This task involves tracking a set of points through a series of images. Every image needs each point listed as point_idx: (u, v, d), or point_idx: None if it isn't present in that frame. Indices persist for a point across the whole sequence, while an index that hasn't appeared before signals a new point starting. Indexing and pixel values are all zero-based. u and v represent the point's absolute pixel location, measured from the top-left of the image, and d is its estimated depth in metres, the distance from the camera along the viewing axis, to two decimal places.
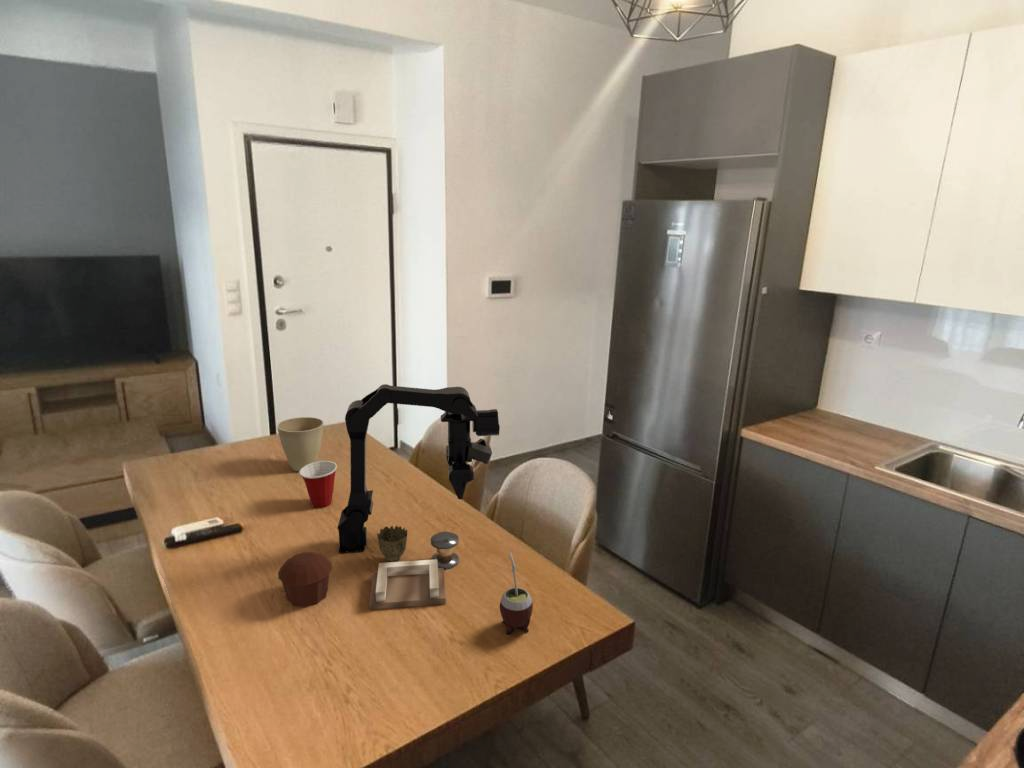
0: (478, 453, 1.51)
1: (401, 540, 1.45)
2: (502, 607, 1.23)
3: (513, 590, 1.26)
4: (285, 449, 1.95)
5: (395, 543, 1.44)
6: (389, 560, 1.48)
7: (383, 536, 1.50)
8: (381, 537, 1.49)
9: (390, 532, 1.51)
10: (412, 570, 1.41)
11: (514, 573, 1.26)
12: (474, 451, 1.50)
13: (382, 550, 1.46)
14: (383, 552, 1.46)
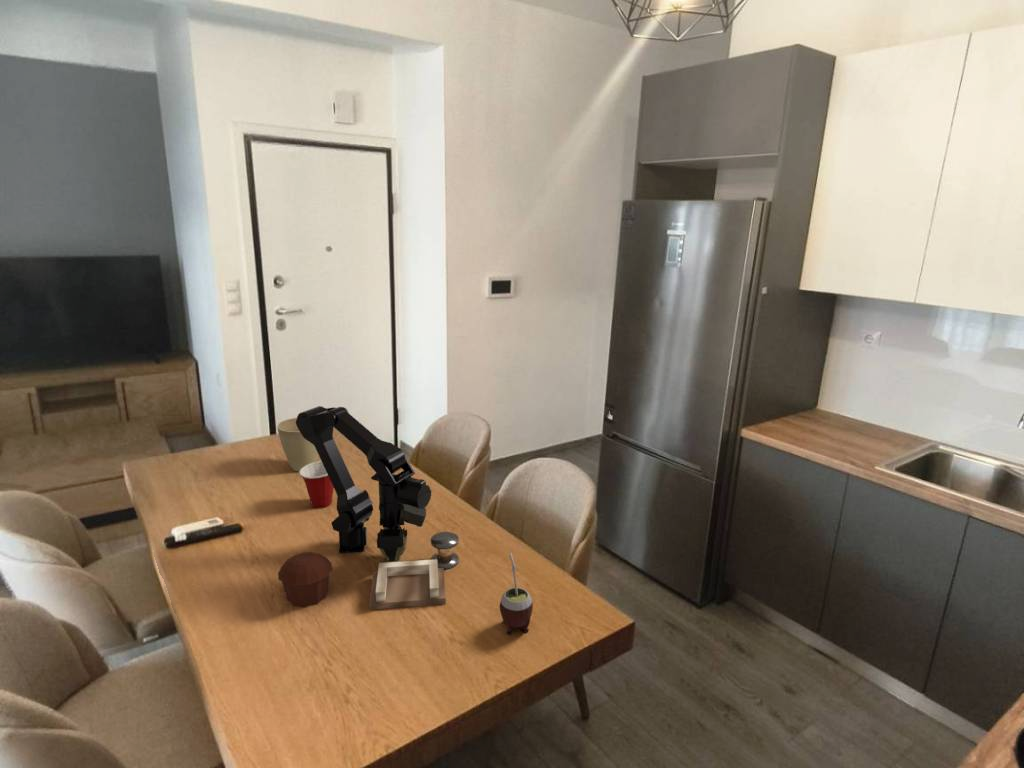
0: (411, 516, 1.44)
1: None
2: (502, 607, 1.23)
3: (513, 590, 1.26)
4: (285, 449, 1.95)
5: None
6: (389, 560, 1.48)
7: None
8: None
9: None
10: (412, 570, 1.41)
11: (514, 573, 1.26)
12: (407, 513, 1.44)
13: (382, 550, 1.46)
14: (383, 552, 1.46)
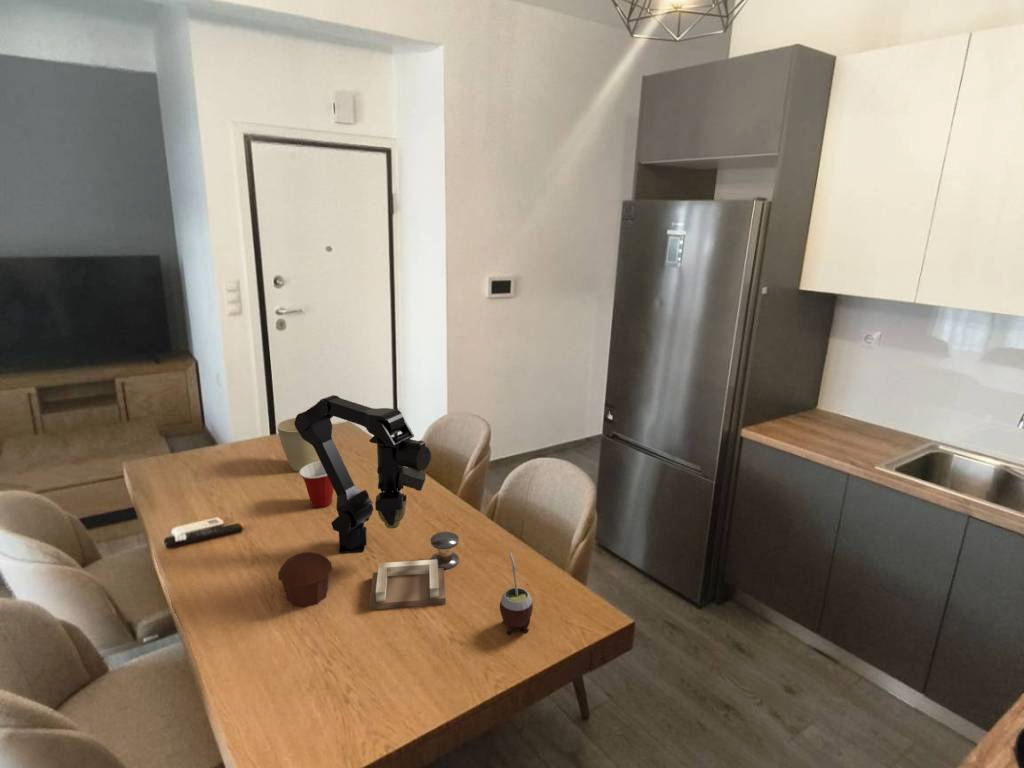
0: (410, 479, 1.41)
1: None
2: (502, 607, 1.23)
3: (513, 590, 1.26)
4: (285, 449, 1.95)
5: None
6: (388, 525, 1.45)
7: None
8: None
9: None
10: (412, 570, 1.41)
11: (514, 573, 1.26)
12: (406, 477, 1.41)
13: (381, 515, 1.43)
14: (382, 517, 1.43)
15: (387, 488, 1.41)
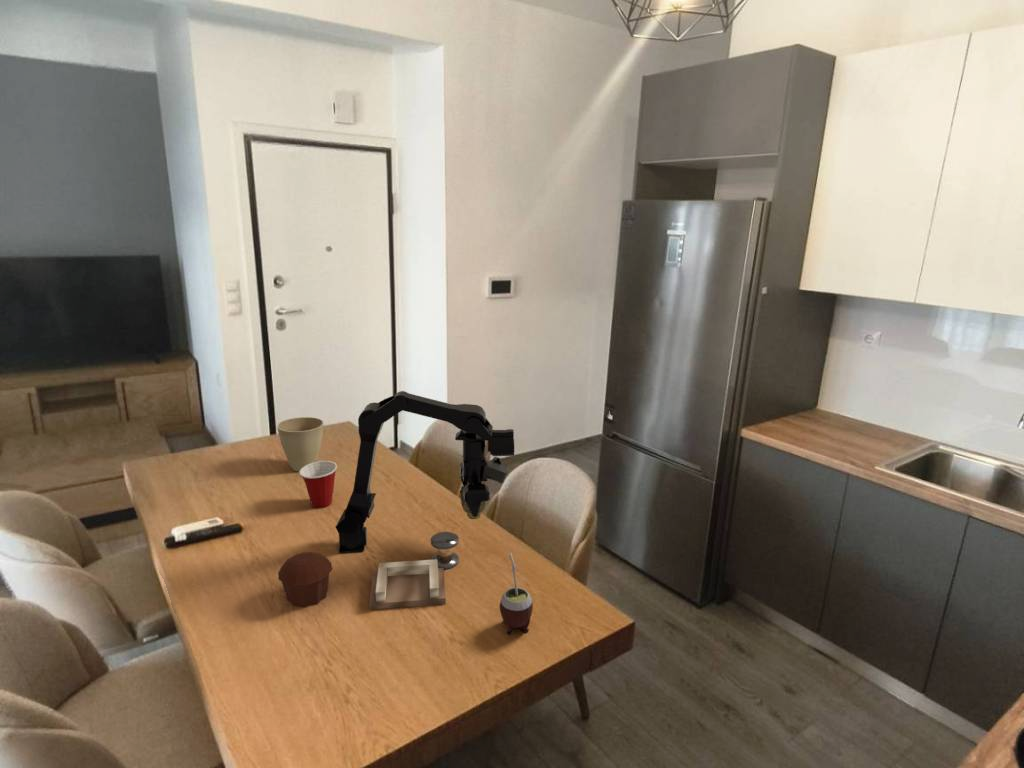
0: (493, 472, 1.48)
1: None
2: (502, 607, 1.23)
3: (513, 590, 1.26)
4: (285, 449, 1.95)
5: None
6: (471, 516, 1.52)
7: None
8: (462, 494, 1.53)
9: None
10: (412, 570, 1.41)
11: (514, 573, 1.26)
12: (490, 470, 1.48)
13: (465, 506, 1.50)
14: (466, 508, 1.50)
15: (472, 480, 1.48)
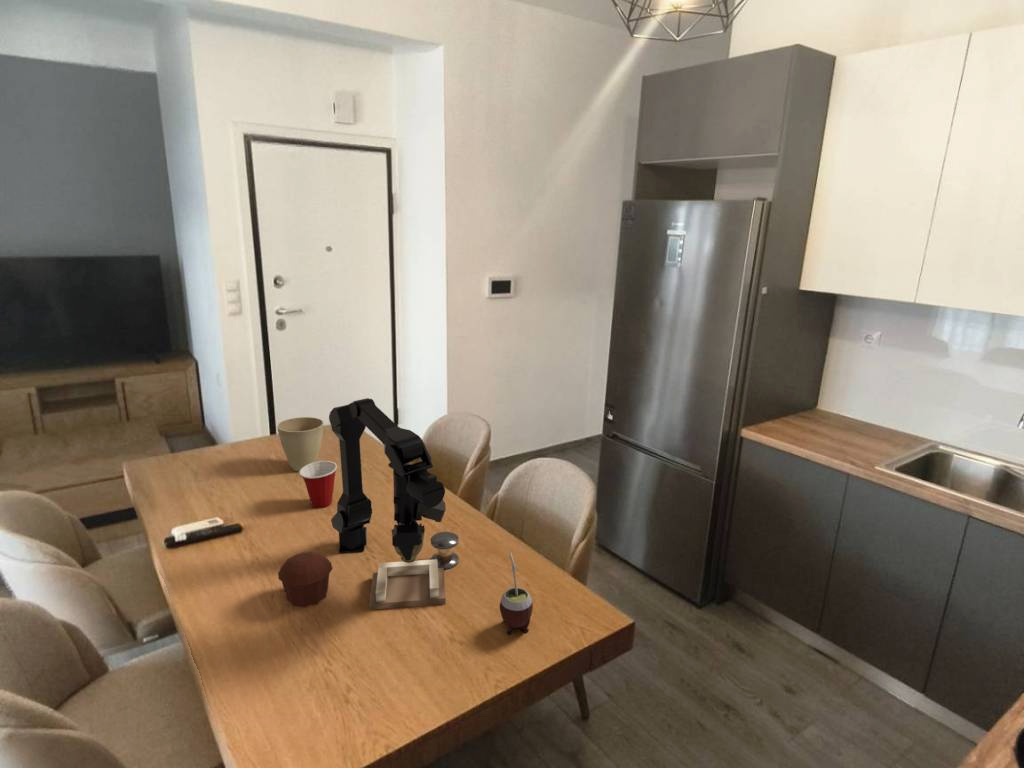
0: (429, 510, 1.29)
1: None
2: (502, 607, 1.23)
3: (513, 590, 1.26)
4: (285, 449, 1.95)
5: None
6: (404, 559, 1.33)
7: None
8: None
9: None
10: (412, 570, 1.41)
11: (514, 573, 1.26)
12: (424, 507, 1.29)
13: (397, 548, 1.31)
14: (398, 550, 1.31)
15: (404, 520, 1.28)
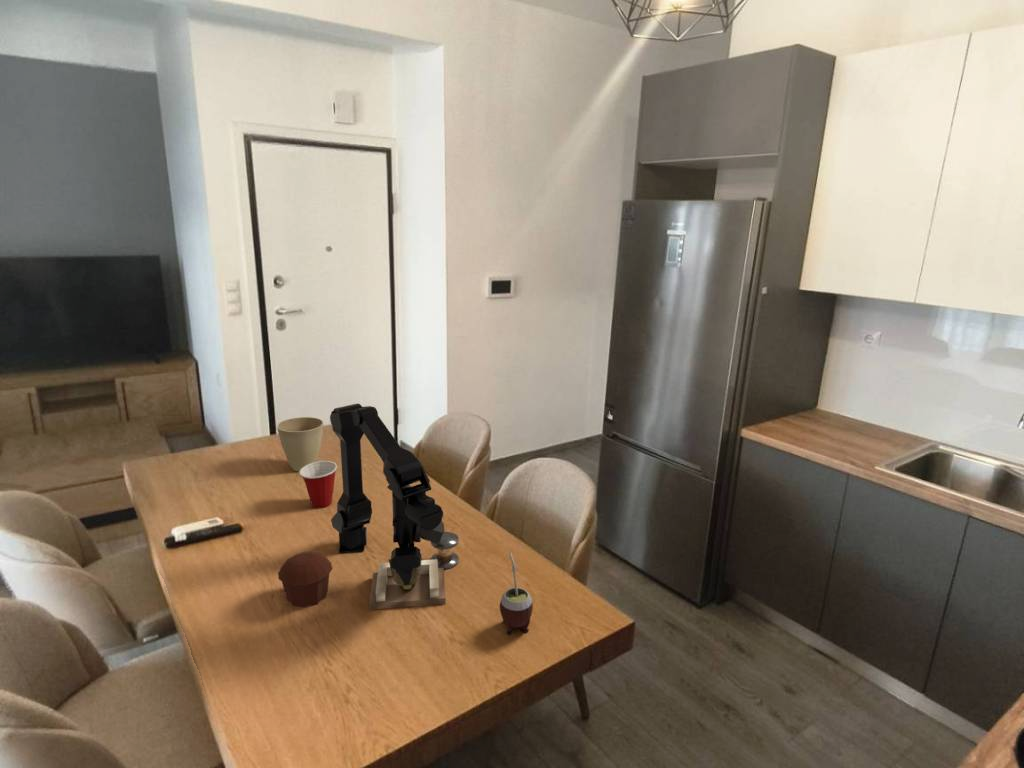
0: (428, 532, 1.30)
1: None
2: (502, 607, 1.23)
3: (513, 590, 1.26)
4: (285, 449, 1.95)
5: None
6: (403, 588, 1.34)
7: None
8: None
9: None
10: None
11: (514, 573, 1.26)
12: (423, 529, 1.30)
13: (395, 577, 1.32)
14: (396, 579, 1.33)
15: (403, 542, 1.30)
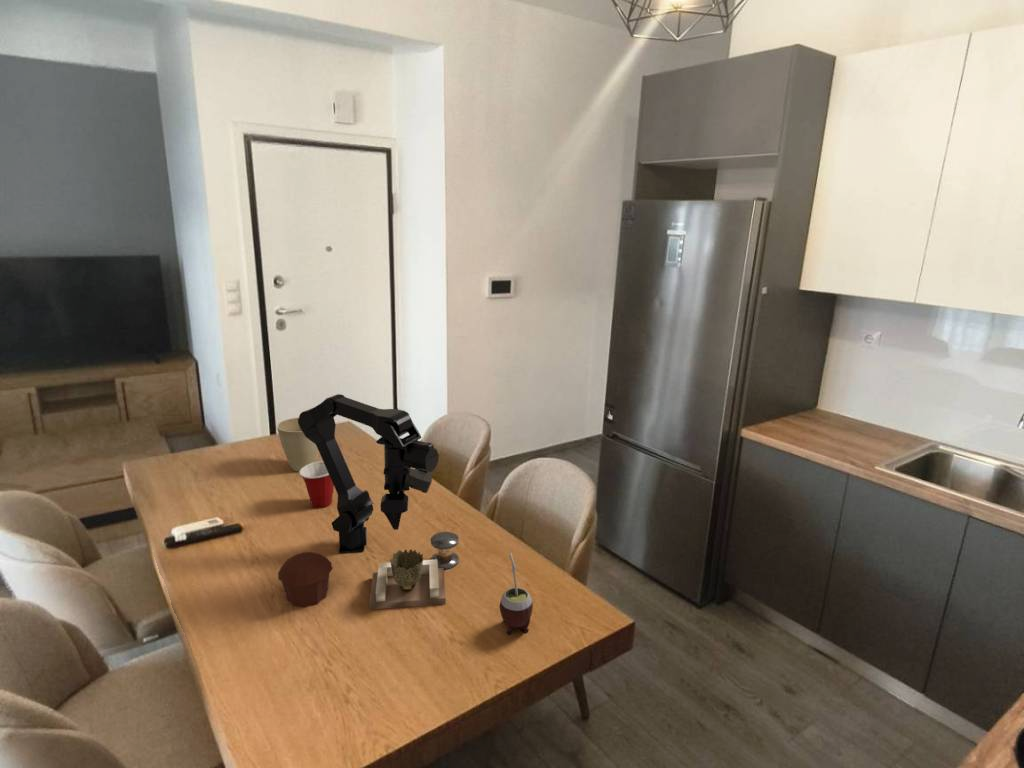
0: (416, 481, 1.41)
1: (416, 566, 1.32)
2: (502, 607, 1.23)
3: (513, 590, 1.26)
4: (285, 449, 1.95)
5: (410, 570, 1.31)
6: (403, 588, 1.34)
7: (396, 561, 1.36)
8: (394, 562, 1.36)
9: (404, 557, 1.38)
10: None
11: (514, 573, 1.26)
12: (412, 479, 1.41)
13: (396, 577, 1.32)
14: (397, 579, 1.33)
15: (393, 489, 1.41)
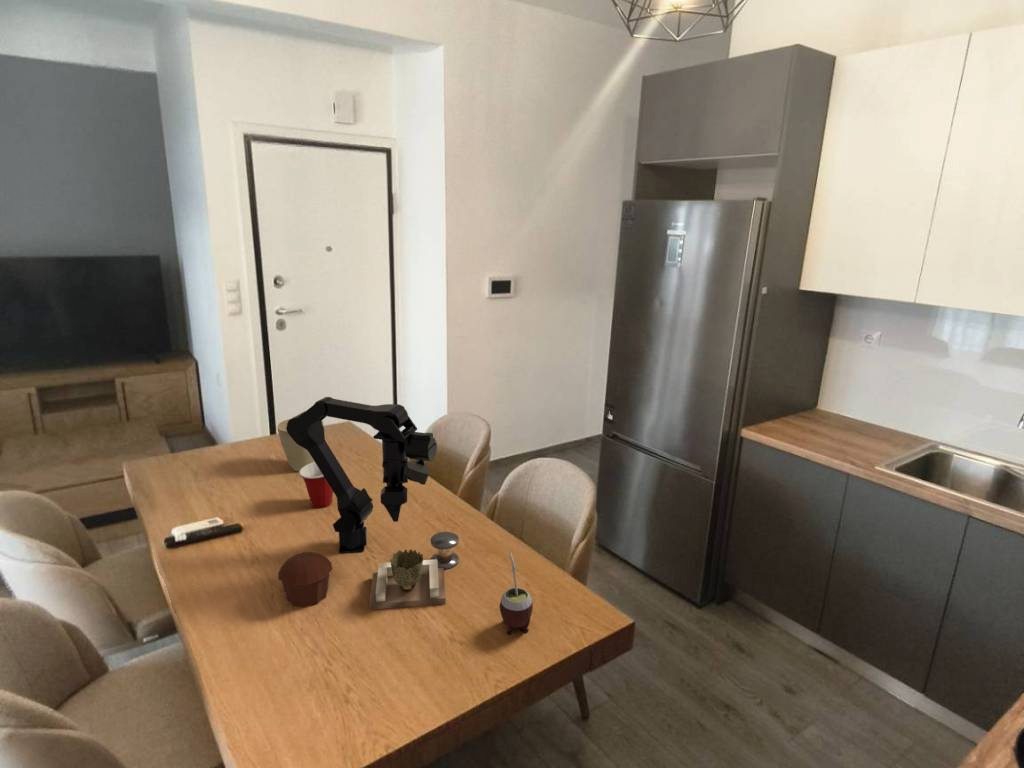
0: (414, 473, 1.44)
1: (416, 566, 1.32)
2: (502, 607, 1.23)
3: (513, 590, 1.26)
4: (285, 449, 1.95)
5: (410, 570, 1.31)
6: (403, 588, 1.34)
7: (396, 561, 1.36)
8: (394, 562, 1.36)
9: (404, 557, 1.38)
10: None
11: (514, 573, 1.26)
12: (410, 471, 1.44)
13: (396, 577, 1.32)
14: (397, 579, 1.33)
15: (392, 482, 1.44)
